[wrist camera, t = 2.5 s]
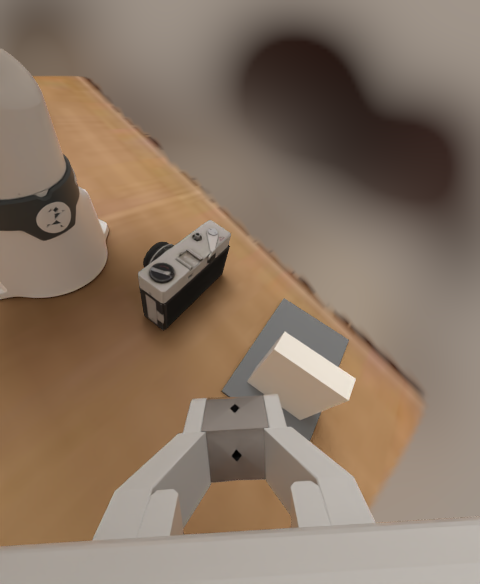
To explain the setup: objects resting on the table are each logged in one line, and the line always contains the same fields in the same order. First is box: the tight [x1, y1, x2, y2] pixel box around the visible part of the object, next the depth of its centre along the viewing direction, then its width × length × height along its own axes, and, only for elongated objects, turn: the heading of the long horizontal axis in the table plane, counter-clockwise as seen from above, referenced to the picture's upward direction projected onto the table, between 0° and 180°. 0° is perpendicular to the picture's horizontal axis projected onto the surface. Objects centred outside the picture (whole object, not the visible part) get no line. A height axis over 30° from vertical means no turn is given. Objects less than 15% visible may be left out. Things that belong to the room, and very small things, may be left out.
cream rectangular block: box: [247, 332, 356, 420], centre depth 29 cm, size 8×3×11 cm, turn 57°
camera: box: [138, 220, 231, 330], centre depth 36 cm, size 14×9×10 cm, turn 138°
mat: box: [221, 299, 349, 441], centre depth 37 cm, size 12×18×1 cm, turn 147°
